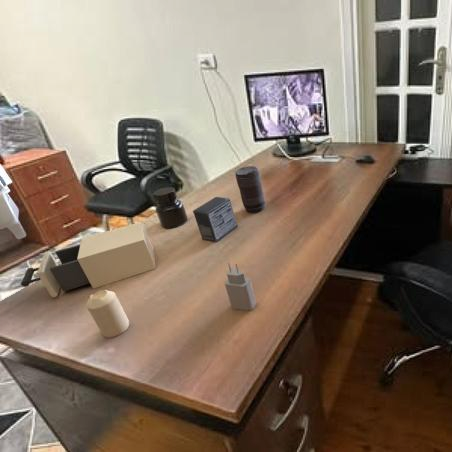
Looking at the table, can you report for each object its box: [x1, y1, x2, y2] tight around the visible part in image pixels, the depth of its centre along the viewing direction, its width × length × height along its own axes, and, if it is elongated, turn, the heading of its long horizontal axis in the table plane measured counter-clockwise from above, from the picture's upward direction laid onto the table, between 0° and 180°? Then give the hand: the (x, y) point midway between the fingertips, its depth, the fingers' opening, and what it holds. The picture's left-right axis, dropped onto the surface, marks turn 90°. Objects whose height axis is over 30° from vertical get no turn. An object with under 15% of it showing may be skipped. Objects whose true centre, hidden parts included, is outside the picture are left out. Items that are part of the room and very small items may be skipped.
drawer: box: [20, 243, 90, 298], centre depth 94 cm, size 19×11×8 cm, turn 118°
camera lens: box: [234, 165, 266, 214], centre depth 123 cm, size 8×8×15 cm
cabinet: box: [77, 221, 157, 289], centre depth 98 cm, size 16×13×10 cm
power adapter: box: [223, 262, 257, 312], centre depth 79 cm, size 3×5×12 cm, turn 73°
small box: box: [192, 196, 238, 243], centre depth 111 cm, size 11×6×10 cm, turn 154°
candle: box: [85, 289, 130, 339], centre depth 76 cm, size 6×6×10 cm
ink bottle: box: [152, 186, 188, 229], centre depth 120 cm, size 10×9×12 cm
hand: (22, 237), depth 83 cm, fingers closed
